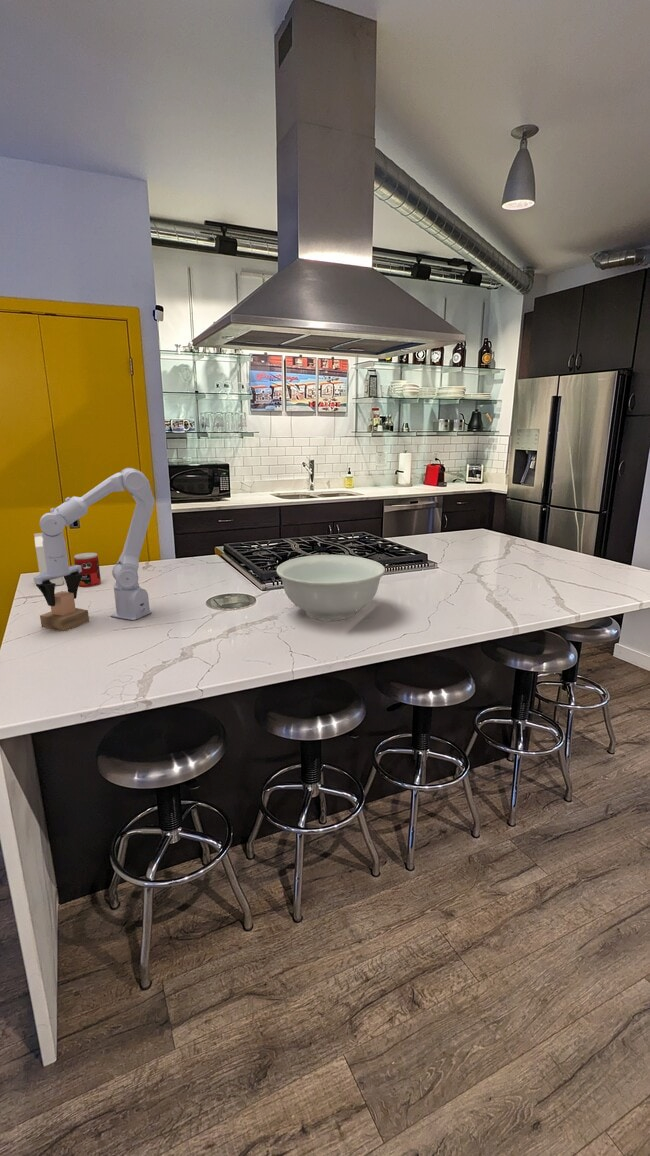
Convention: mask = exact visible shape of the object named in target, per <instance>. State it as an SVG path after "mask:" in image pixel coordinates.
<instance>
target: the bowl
mask: <svg viewBox="0 0 650 1156" xmlns="http://www.w3.org/2000/svg"><path fill="white" fill-rule="evenodd" d="M385 572H386V568H385V566H384V565H383V564H381V563H380V562H378V561H375V560H372V559H371V558H370V559H369V558H364V557H359V556H354V555H343V554H316V555H308V556H307V555H306V556H305V555H304V556H300V557H299V556H298V557H295V558H291V559H288V560H286V561H284V562H282V563H280V564H279V565H277V568H276V574H277V575H278V577H279V578H281V581H282V582H281V583H282V586H283V589H284V592H285V595H286V596H287V598H288V599H289V600H290V602H291V603H292V604H293V605H295V606H296V607H298V608H300V609H302V610H304V611H305V614H306V615H307V617H309V618H311V617H312V618H311V619H314V620H317V619H319V620H318V621H323V620H339V621H343V620H342V619H344V620H348V619H350V618H352V617H354V616H355V614H356V613H357V610H360V609H362V608H364V607H366V606H367V605H369V604H370V603H371V602H372V601H373V599H374V597H375V596H376V594H377V592H378V588H379V585H380V581H381V578H382V577H383V576H384V575H385ZM347 618H348V619H347Z"/></svg>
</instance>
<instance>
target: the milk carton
mask: <svg viewBox="0 0 650 1156" xmlns="http://www.w3.org/2000/svg"><path fill="white" fill-rule="evenodd" d="M33 536H34V547H35V552H36V561H37V565H38V566H37V567H38V572H39V574H38V575H40V574H42V573H45V572H46V570H47V568H46V562H45V555H44V549H43V538H42V532H39V533H33ZM50 582H51V583H55V584H56V585H55V587H56V586H63V585H64V577H60V578H57V579H53V580H50Z"/></svg>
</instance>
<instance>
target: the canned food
mask: <svg viewBox="0 0 650 1156" xmlns="http://www.w3.org/2000/svg"><path fill="white" fill-rule="evenodd" d="M73 558H74V560H73V561H74V565H81V569H82V572H79V573H80V574H82V578H81V580H80V583H79V586H78V587H81V588H91V587H96V586H98V585H100V584H101V582H102V579H101V573H100V572H101V570H100V562H99V555H98V553H96V552H84V553H77V554H74V556H73Z"/></svg>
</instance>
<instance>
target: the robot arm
mask: <svg viewBox="0 0 650 1156" xmlns="http://www.w3.org/2000/svg"><path fill="white" fill-rule="evenodd" d="M125 490H126V491H128V492H129V493H130V495H131V497H132V499H134V501H135V506H134V507H135V508H134V510H133V514H132V518H131V521H130V525H129V529H128V531H127V536H126V539H125V541H124V545H123V549H122V552H121V554H120V555H119V558H118V561H117V563H116V564H115V565H114V566H113V567H112V569H111V570H112V572H111V574H112V577H113V578H114V580H115V584H114V585H113V593H114V602H115V610H116V612H113V613H111V614H110V617H112V618H113V617H114V618H118V619H124V620H128V621H136V620H138V619H141V618H143V617H145V616H148V615H149V614H152V613H153V611H152V610H150V609H151V608H150V602H149V601H150V600H149V594H148V591H147V590H146V589H144V588H142V587H141V586H140V583H139V573H138V570H139V565H140V564H139V563H140V562H139V561H140V560H139V558H140V556H141V553H142V552H141V551H142V548H143V546H144V541H145V538H146V535H147V532H148V531H147V530H148V528H149V524H150V521H151V517H152V513H153V510H154V506H155V501H156V499H155V497H154V494H153V492H152V488H151V484H150V481H149V479H148V478H147V477H146V475H145V474H144V473H143V472H142V471H140V470H138V469H136V468H133V467H125V468H124V469H122V470H121V471H120V472H116V473H114V474H112V475H111V476H109V477H108V478H106V479H105V480H103V481H101V482H100V483H98V485H96V486H95V487H93V488H92V489H91V490H89V491H88V492H87V493H85V494H83V495H82V496H80V497H79V496H75V495H73V496H72V497H70V496H68V497H66V498H65V499H64V500H65V501H64V502H63V503H61V504H60V505H59V506H56V507H52V508H50V510H49V511H50V512H46V513H44V514H43V515H42V516H41V517H40V519H39V524H38V525H39V527H40V530H41V531H42V532H41V533H42V538H43V549H44V555H45V562H46V568H47V570H46V572H45V573H42V574H38V575H35V576H33V582H34V585H35V586H36V588H38V590H39V591H40V592H41V594H42V595H43V597H44V598H45V602H46V604H47V606H49V607H51V606H55V595H54V594H55V593H56V592H55V589H56V586H57V585H56V584H55V583H51V582H50V580H53V579H57V578H60V577H63V580H64V581H65V585H66V587H67V592H69V593H74V600H76V599H77V596H78V591H79V587H80V586H79V583H80V580H81V578H82V574H80V573H79V572H82V569H81V565H75V564H74V565H69V560H68V558H69V557H68V552H67V545H66V539H65V538H64V529H65V527H67V526H68V527H69V526H71V524H73V523H74V522H76V521H78V520H79V519H81V518H82V517H84V516H86V515H87V514H88V508H89V507H90V506H92V505H94V504H95V503H96V502H98V501H100V500H102V499H103V498H105V497H107V496H109V494H111V493H113V492H114V493H115V492H125ZM55 585H56V586H55Z"/></svg>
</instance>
